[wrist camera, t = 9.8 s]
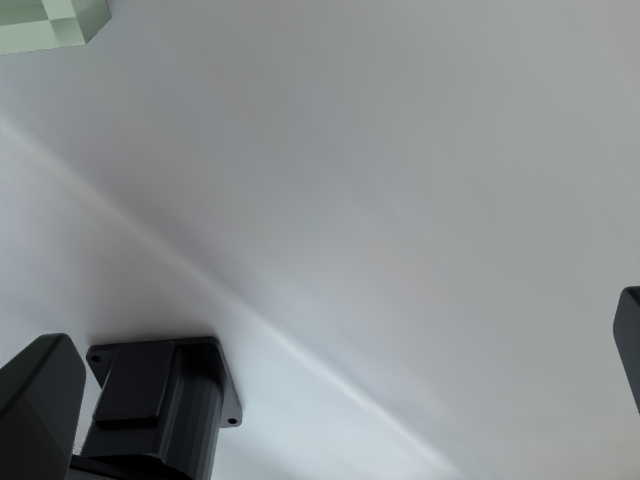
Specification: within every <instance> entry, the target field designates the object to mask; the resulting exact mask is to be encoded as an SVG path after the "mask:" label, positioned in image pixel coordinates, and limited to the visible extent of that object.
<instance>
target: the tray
mask: <svg viewBox="0 0 640 480" xmlns="http://www.w3.org/2000/svg"><path fill="white" fill-rule="evenodd" d="M110 19H111V15H110V12H109V8H108V5H107V2H106V0H0V55H3V54H11V53H19V52H27V51H36V50H44V49H52V48H61V47H69V46H77V45H86V44H87V43H88V42H89V41H90V40H91V39H92V38H93V37H94V36H95V34H96V33H97V32H98V31H99V30H100V29H101V28H102V27H103V26H104V25H105V24H106V23H107V22H108V21H109V20H110Z"/></svg>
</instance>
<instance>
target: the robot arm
mask: <svg viewBox="0 0 640 480" xmlns="http://www.w3.org/2000/svg"><path fill="white" fill-rule="evenodd" d="M613 334H614V339H615V342H616V345H617V348H618V351H619V354H620V357H621V360H622V363H623V366H624V369H625V372H626V375H627V378H628V381H629V384H630V388H631V391H632V394H633V397H634V400H635V403H636V406H637V409H638V412H639V414H640V286H630V287H626V288H624V289H623V291H622V292H621V295H620V299H619V303H618V307H617V311H616V315H615V319H614V323H613ZM207 346H209V347H207ZM210 347H211V348H210ZM86 360H87V362H88V364H89V366H90V368H91V370H92V372H93V374H94V376H95V377H96V379H97V381H98V383H99V385H100V387H101V389H102V391H101V393H100V396H99V399H98V401H97V404H96V407H95V410H94V412H93V415H92V419H93V420H92V422H91V425H90V428H89V430H88V433H87V436H86V438H85V441H84V444H83V447H82V449H81V452H80V455H75V454H72V451H73V446H74V441H75V435H76V430H77V425H78V419H79V414H80V409H81V403H82V398H83V393H84V388H85V382H86V368H85V365H84V362H83V361H82V359H81V357H80V355H79V353H78V351H77V349H76V347H75V345H74V344H73V342H72V340H71V338H70V337H69V336H68V335H67V334H65V333H55V334H45V335H41V336H39V337H38V338H37V339H35V340H34V341H33V342H32V343H31V344H29V345H28V346H27V347H26V348H25V349H23V350H22V351H21V352H20V353H19V354H17V355H16V356H15V357H14V358H13V359H12V360H10V361H9V362H8V363H7V364H6V365H4V366H3V367H2V368H1V369H0V480H211V474H212V468H213V462H214V456H215V450H216V444H217V438H218V432H219V428H226V427H237V426H239V425H241V423H242V411H241V408H240V405H239V402H238V398H237V395H236V392H235V389H234V386H233V383H232V380H231V376H230V373H229V370H228V367H227V364H226V361H225V357H224V354H223V351H222V348H221V345H220V342H219V341H218V340H217V339H216V338H214V337H195V338H183V339H171V340H158V341H146V342H134V343H121V344H109V345H96V346H92V347H90V348H89V350H88V352H87V355H86Z"/></svg>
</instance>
